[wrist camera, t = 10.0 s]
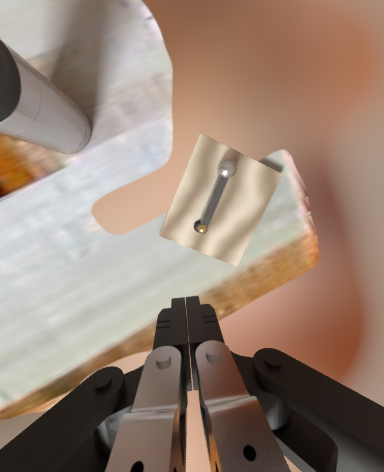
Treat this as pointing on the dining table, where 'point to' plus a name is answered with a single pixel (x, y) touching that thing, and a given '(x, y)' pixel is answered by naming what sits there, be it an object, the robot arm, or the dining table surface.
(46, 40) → the dining table surface
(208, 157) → the hole board
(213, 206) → the leg
